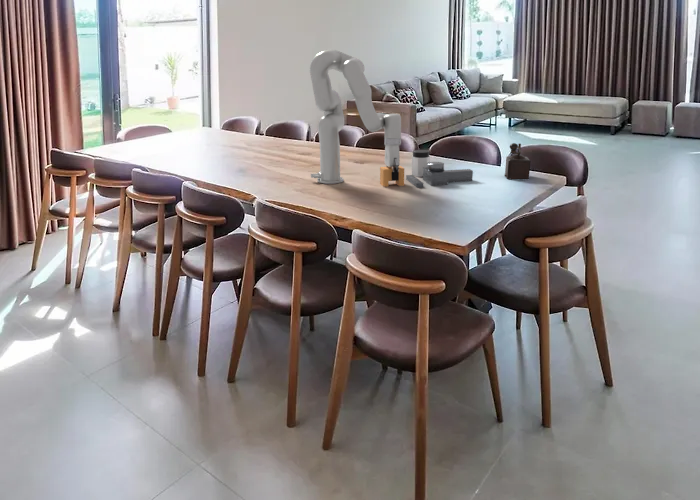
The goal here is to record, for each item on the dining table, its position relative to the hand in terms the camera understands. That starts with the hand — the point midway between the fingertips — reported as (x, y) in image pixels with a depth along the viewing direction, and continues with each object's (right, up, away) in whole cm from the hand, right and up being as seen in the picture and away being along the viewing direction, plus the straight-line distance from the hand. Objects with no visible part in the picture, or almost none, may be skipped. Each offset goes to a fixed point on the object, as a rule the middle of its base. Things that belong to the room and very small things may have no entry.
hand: (392, 178), depth 294 cm
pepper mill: (+61, +1, +11) cm, 62 cm away
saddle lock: (0, -3, +1) cm, 3 cm away
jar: (+15, +4, +20) cm, 25 cm away
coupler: (+24, -1, +5) cm, 24 cm away
